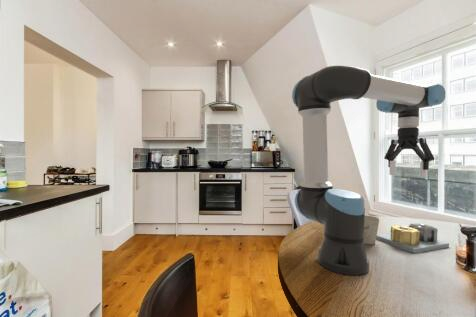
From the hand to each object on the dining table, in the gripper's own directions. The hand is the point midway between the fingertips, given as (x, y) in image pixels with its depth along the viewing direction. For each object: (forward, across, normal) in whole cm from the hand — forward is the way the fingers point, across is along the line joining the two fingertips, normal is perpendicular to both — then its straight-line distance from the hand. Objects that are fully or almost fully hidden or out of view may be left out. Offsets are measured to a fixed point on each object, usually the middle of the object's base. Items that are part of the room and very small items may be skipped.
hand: (406, 176), depth 105 cm
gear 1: (+25, -7, +10) cm, 28 cm away
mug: (+27, +1, +24) cm, 36 cm away
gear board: (+27, -6, +5) cm, 28 cm away
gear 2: (+25, -7, 0) cm, 26 cm away
